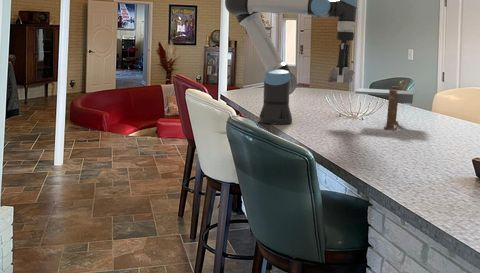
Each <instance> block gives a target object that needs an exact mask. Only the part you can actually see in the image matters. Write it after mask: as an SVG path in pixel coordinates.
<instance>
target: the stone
mask: <svg viewBox="0 0 480 273" xmlns="http://www.w3.org/2000/svg"><path fill="white" fill-rule="evenodd" d="M355 73H356V72H355V71H354V69H348V68H347V69H345V68H344V79H343V83H347V84H348V83H352V82H353V75H354V74H355ZM337 75H338V68H336V66H335V67H334V66H333V67H332V68H330V71H329V75H328V78H327V80H326V81H327V82H329V83H334V82H336V83H338V82H337Z"/></svg>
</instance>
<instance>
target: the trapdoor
mask: <svg viewBox="0 0 480 273" xmlns="http://www.w3.org/2000/svg"><path fill="white" fill-rule="evenodd" d="M389 90H390V89H378V88H365V87H364V88H363V87H362V88H361V87H360V88H358V89H356V90H355V91H354V94H358V95H359V94H361V95H376V96H377V95H378V96H389ZM414 92H415V91H414V90H402V89H401V90H400V89H399V90H397V98H396V103H398V104H409V105H412V104H413V100H414Z"/></svg>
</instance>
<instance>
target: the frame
mask: <svg viewBox="0 0 480 273" xmlns="http://www.w3.org/2000/svg"><path fill="white" fill-rule="evenodd" d="M388 90H389V95H388V104H387V105H388V106H387V115H386V123H385V124H384V127H383V130H387V131H396V130H397V127H398V125H399V120H397V116H398V104H399V103H396V98H397V90H400V86H395V85H393V86H391V89H388Z"/></svg>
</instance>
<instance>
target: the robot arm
mask: <svg viewBox="0 0 480 273" xmlns="http://www.w3.org/2000/svg"><path fill="white" fill-rule="evenodd" d="M357 2H358V0H224V6H225V9H226V11H228V13H229V14H230V15H233V16H235V18H236V20H237V22H238V24H239V25H240V26H243V27H244V29H245V31H246V33H247V35H248V37H249V38H250V41H251V43H252V45H253V47H254V49H255V50H256V53H257V54H258V56H259V58H260V60H261V62H262V64H263V66H264V68H265V73H264V76H263V105H262V108H261V111H260V112H259V116H258V122H259V123H261V124H267V125H269V124H268V123H276V124H275V125H286V124H285V123H290V124H292V123H293V116H292V113H291V108H290V95H291V94H293V92H295V90H296V88H297V86H298V80H297V77H296V74H294V73H293V72H292V71H291V69H290V67H289V65H288V63H285V62H283V60H282V59H281V56H280V54H279V52H278V50H277V48H276V46H275V44H274V43H273V41H272V39H271V37H270V34H269V33H268V31H267V29H266V27H265V25H264V23H263V21H262V19H261V15H262V13H267V14H268V13H270V14H271V13H272V14H288V15H305V16H307V15H308V16H312V17H314V18H336V19H337V18H338V19H337V20H338V21H337V29H336V30H337V33H336V40H338V41H341V42H340V44H339V49H338V50H339V51H338V58H337V65H336V66H335V67H336V68H338V75H337V82H336V83H338V84H339V83H343V79H344V68H345V69H347V70H348V68H350V65H349V54H350V44H349V42H350V41H354V39H355V27H356V26H357V24H356V17H357V16H356V15H357V6H358V5H357ZM291 122H292V123H291Z"/></svg>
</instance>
